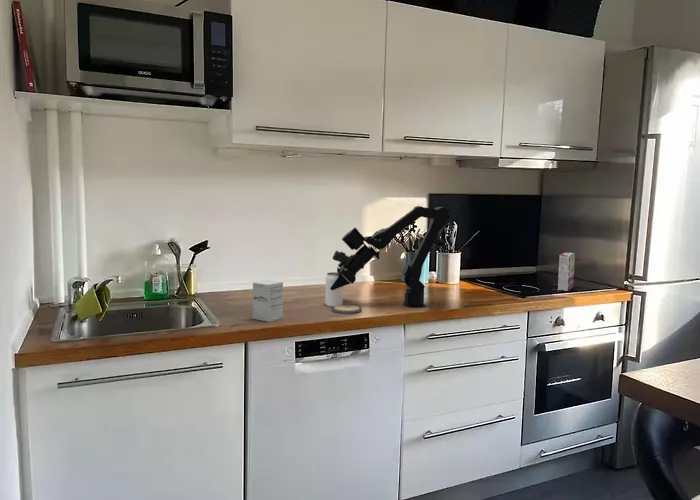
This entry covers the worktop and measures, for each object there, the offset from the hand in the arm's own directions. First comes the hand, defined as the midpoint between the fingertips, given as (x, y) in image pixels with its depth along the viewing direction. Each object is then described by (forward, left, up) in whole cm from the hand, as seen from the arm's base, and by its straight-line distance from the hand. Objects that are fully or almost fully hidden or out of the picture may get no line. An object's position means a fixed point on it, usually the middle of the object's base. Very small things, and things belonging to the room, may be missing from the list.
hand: (330, 287), depth 214 cm
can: (-1, 0, -7) cm, 7 cm away
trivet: (-2, +10, -7) cm, 13 cm away
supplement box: (+28, +13, -7) cm, 32 cm away
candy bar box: (-111, +3, -7) cm, 112 cm away
